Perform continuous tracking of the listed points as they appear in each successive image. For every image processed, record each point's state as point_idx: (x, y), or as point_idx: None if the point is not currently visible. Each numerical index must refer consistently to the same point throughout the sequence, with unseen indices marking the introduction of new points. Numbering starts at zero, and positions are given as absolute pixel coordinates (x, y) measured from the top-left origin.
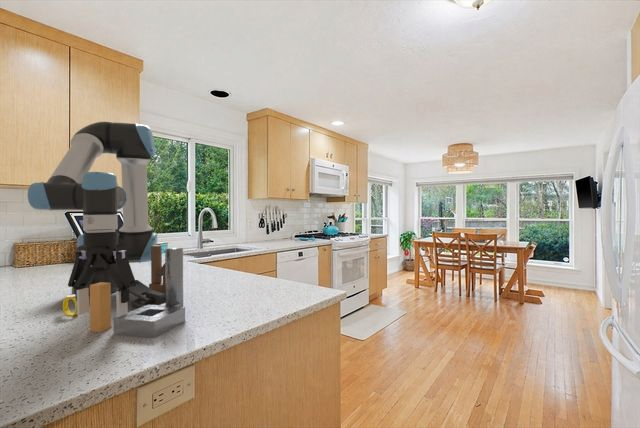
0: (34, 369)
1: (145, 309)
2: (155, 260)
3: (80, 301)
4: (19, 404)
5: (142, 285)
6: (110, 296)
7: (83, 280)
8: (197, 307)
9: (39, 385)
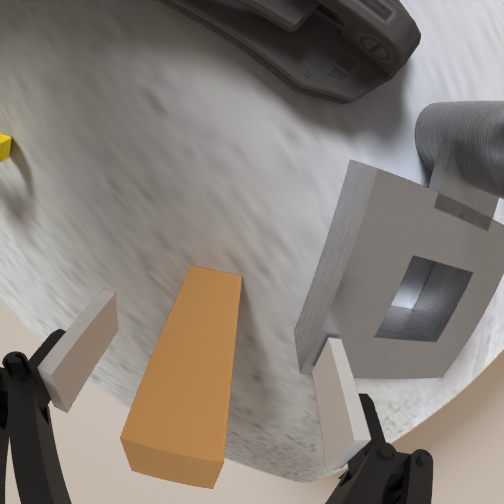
0: (242, 447)
1: (395, 266)
2: None
3: (92, 365)
4: (298, 476)
5: None
6: (231, 380)
7: (53, 451)
8: (475, 44)
9: (290, 464)
